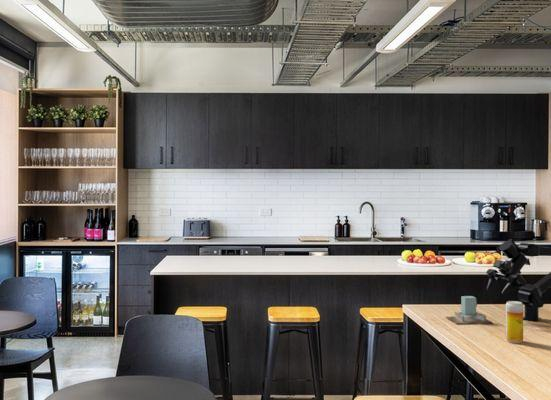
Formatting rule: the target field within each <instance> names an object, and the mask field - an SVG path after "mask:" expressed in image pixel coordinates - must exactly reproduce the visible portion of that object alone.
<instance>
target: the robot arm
mask: <svg viewBox="0 0 551 400" xmlns="http://www.w3.org/2000/svg"><path fill="white" fill-rule="evenodd" d="M499 250H500V251H501V252H502V254H504V255H505V256H506V258H508V259H510V260H508V259H506V260H505V261H504V260H500V259H494V262H493V265H492V267H493V268H496V269H493V268H488V269H487V270H486V274H487V276H488V283H487V286H486V291H487V292H489V291H490V290H492V289H493V288H495V287H496V286H497V285H499V284H500V282H501V281H502V280H506V281H507V283H506V285H505V286H504V288H503V290H502V291H501V294H502V295H503V296H504V295H506V294H508V293H511V292H512V291H515V290H518V289H519V290H518V292H517V297H518V302H521V303H522V305H523V306H524V307H523V321H530V322H539V321H541V320H542V317H540V316H539V315H540V313H539V310H540V309H541V308H543V307H544V305H545V304H544V303H545V302H544V300H543V299H541V298H542V294H543V293H544V292H546V291H547V290H548V289H550V288H551V271H550V272H549V273H548V274H546V275H545V276H544V277H542V278H540V279H539V280H538V281H537V282H535V283H534V284H530V283H527V281H526V280H525V278H523V276H522V275H521V274H522V271H521V270H522V268H523V267H525V265H526V266H531V262H530V258H527V257H531V258H532V257H533V258H534V257H538V256H549V257H550V256H551V247H549V246H540V245H538V244H534V243H528V242H520V243H519V245H518V244H516V242H515V241H514V239H512V238H508V240H506V241H504V242H503V243H501V244H500V245H499ZM497 269H498V270H497Z"/></svg>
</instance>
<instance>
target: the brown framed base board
mask: <svg viewBox="0 0 551 400" xmlns="http://www.w3.org/2000/svg"><path fill="white" fill-rule="evenodd" d="M476 312H477V315H476V316H463V315H461V311H455V312H454V316H445V319H447V320H448V321H450V322H452V323H454V324H455V325H459V326H461V325H490V324H494V322H493V321H491V320H490V319H487V315H486V314H483V313H482V312H480V311H476Z"/></svg>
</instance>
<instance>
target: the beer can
mask: <svg viewBox="0 0 551 400" xmlns="http://www.w3.org/2000/svg"><path fill="white" fill-rule="evenodd" d="M523 317H524V305H523V304H522V303H521V302H520V301H519V300H518V301H517V300H508V301H506V303H505V340H506V341H507V342H508V343H509V344H510V343H511V344H521V343H523V341H524V319H523Z"/></svg>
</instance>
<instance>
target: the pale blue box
mask: <svg viewBox="0 0 551 400" xmlns="http://www.w3.org/2000/svg"><path fill="white" fill-rule="evenodd" d="M460 301H461V303H460V305H461V311H460V312H461V315H463V316H476V315H477V312H478V311H477V306H478V302H477V297H475V296H473V295H464V296H463V295H462V296H461V298H460Z"/></svg>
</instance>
